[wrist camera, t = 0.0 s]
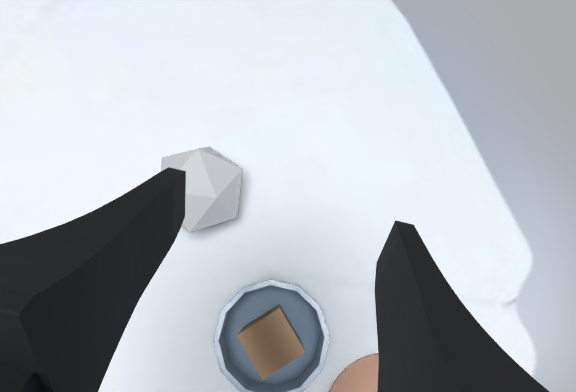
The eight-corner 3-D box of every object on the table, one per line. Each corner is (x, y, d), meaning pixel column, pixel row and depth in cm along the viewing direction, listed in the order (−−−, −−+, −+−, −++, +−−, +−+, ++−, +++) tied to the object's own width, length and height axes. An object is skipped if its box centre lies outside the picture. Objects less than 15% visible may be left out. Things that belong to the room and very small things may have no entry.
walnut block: (265, 364, 43) (262, 380, 36) (243, 326, 44) (237, 335, 37) (301, 340, 43) (305, 352, 37) (279, 303, 44) (279, 308, 37)
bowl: (310, 398, 43) (314, 412, 38) (209, 373, 43) (202, 384, 39) (332, 294, 45) (338, 295, 41) (236, 271, 45) (231, 270, 41)
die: (256, 221, 47) (261, 150, 40) (194, 264, 41) (188, 189, 35) (207, 186, 51) (205, 116, 44) (145, 220, 45) (131, 146, 39)
